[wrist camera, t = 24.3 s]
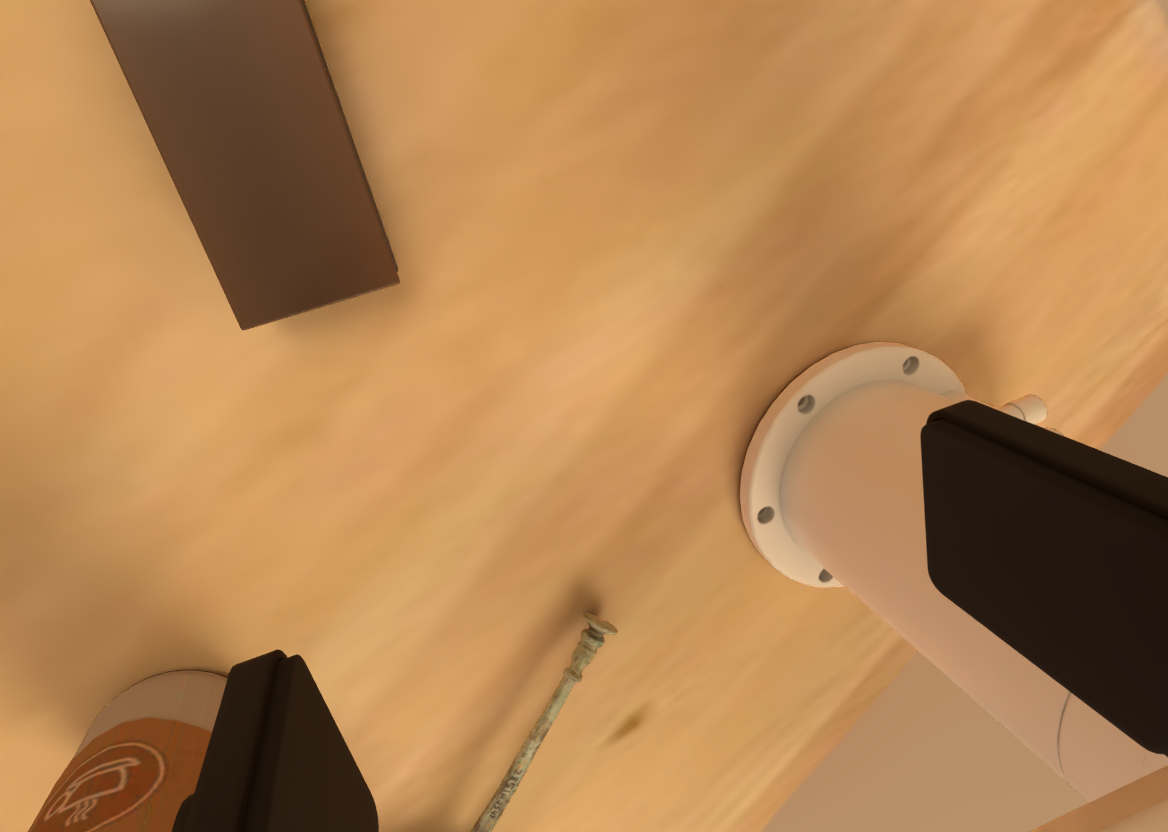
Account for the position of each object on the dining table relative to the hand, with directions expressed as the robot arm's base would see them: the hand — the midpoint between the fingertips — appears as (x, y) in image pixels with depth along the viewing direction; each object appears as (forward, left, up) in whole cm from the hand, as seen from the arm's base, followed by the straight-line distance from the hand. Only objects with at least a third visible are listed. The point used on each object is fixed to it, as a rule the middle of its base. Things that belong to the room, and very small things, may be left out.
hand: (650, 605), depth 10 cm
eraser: (+4, -8, -19) cm, 21 cm away
